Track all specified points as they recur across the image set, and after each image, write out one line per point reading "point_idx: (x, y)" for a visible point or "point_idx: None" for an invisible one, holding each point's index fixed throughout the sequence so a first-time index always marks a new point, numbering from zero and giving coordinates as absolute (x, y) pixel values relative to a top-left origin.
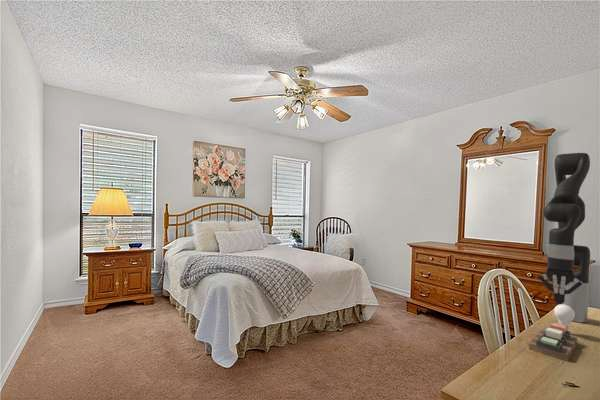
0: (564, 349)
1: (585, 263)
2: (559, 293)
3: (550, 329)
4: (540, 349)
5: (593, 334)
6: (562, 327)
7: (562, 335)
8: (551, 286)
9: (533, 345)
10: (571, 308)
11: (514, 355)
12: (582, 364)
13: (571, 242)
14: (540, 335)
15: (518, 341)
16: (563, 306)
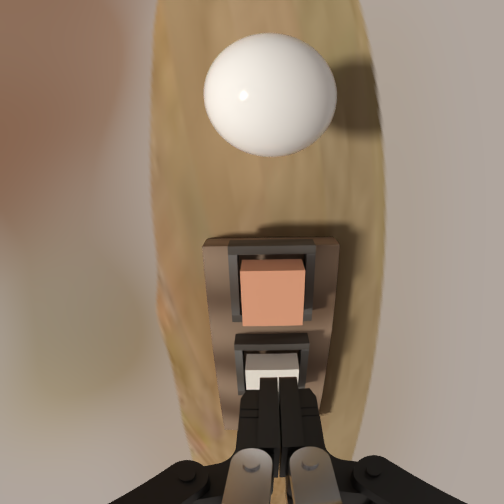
0: None
1: None
2: (277, 457)
3: (258, 388)
4: None
5: (362, 27)
6: (292, 319)
7: (297, 358)
8: (191, 502)
9: (235, 427)
10: (323, 91)
11: (219, 456)
12: (343, 405)
13: None
14: (223, 348)
15: (186, 388)
16: (270, 119)
